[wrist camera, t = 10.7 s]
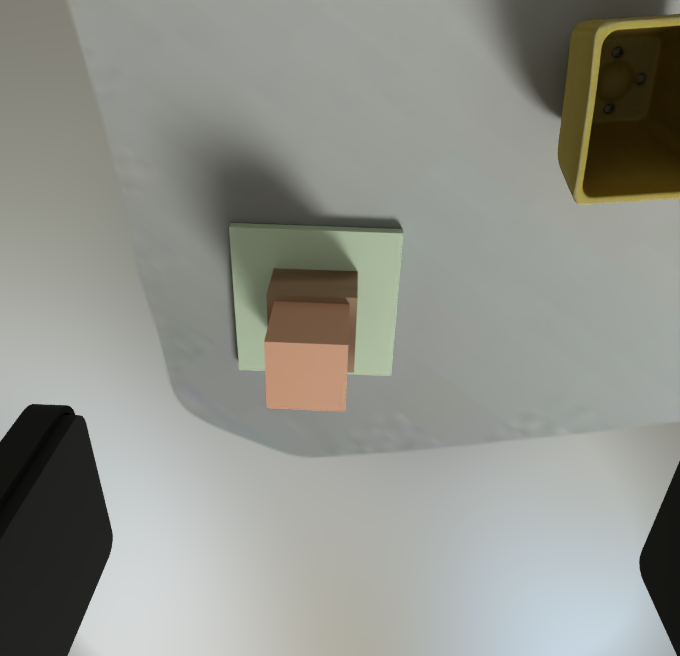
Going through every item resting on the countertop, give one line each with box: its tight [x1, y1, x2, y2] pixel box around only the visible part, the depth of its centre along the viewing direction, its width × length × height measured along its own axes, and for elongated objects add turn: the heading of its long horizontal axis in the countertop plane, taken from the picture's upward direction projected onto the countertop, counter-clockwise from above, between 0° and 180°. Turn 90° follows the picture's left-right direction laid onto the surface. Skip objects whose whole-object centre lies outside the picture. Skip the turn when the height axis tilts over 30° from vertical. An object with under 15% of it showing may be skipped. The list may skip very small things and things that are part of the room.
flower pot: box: [558, 14, 680, 205], centre depth 34 cm, size 9×9×9 cm
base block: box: [266, 268, 358, 373], centre depth 44 cm, size 6×6×4 cm
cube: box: [264, 301, 350, 411], centre depth 40 cm, size 5×5×5 cm
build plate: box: [229, 223, 403, 376], centre depth 46 cm, size 12×12×1 cm
